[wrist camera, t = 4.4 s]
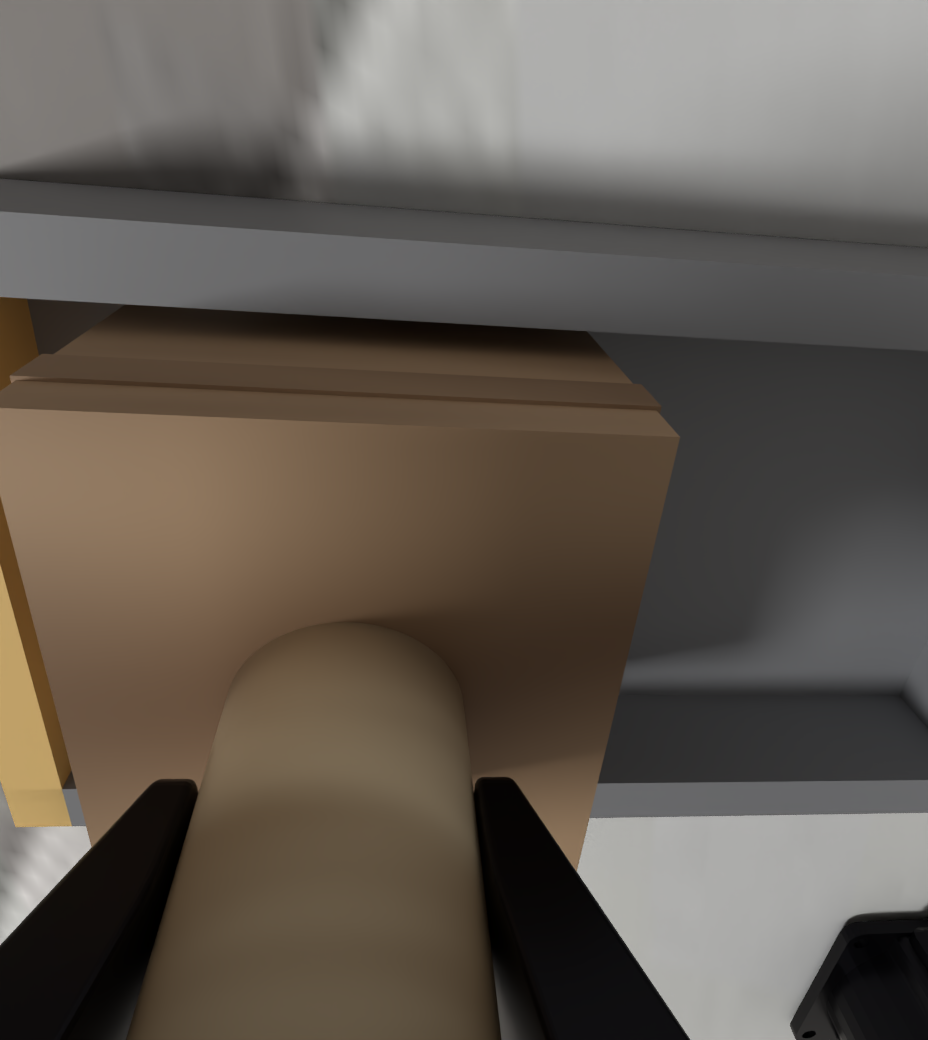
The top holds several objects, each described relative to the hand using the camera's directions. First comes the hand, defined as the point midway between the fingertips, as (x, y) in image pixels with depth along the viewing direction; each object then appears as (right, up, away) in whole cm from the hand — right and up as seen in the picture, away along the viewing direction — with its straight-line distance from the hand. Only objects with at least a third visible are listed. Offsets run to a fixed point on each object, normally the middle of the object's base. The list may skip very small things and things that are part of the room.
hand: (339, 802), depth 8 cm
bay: (+3, +4, +7) cm, 8 cm away
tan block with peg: (-1, +3, +6) cm, 6 cm away
